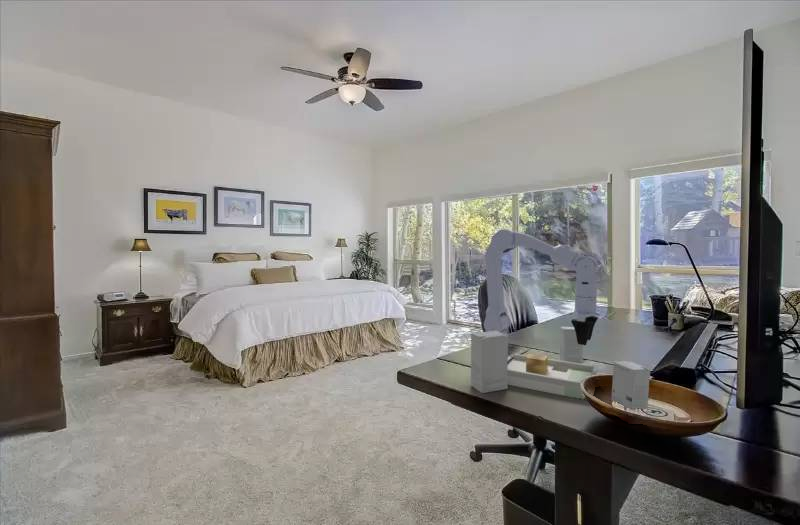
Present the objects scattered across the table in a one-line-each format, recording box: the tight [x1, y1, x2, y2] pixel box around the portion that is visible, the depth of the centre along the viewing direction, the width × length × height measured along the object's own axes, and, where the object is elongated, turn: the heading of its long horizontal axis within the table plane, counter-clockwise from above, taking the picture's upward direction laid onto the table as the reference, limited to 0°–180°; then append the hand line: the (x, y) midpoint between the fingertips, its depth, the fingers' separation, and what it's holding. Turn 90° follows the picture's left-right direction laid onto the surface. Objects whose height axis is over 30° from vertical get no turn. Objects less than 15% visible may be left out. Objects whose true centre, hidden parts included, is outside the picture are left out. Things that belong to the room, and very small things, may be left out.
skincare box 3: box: [610, 360, 651, 410], centre depth 81 cm, size 6×4×12 cm
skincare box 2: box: [559, 326, 584, 364], centre depth 121 cm, size 6×4×12 cm
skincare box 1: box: [470, 331, 509, 394], centre depth 99 cm, size 8×6×15 cm
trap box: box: [507, 353, 599, 400], centre depth 105 cm, size 24×18×4 cm
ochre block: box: [526, 353, 549, 374], centre depth 106 cm, size 5×5×4 cm
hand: (584, 342), depth 110 cm, fingers open, 7 cm apart
